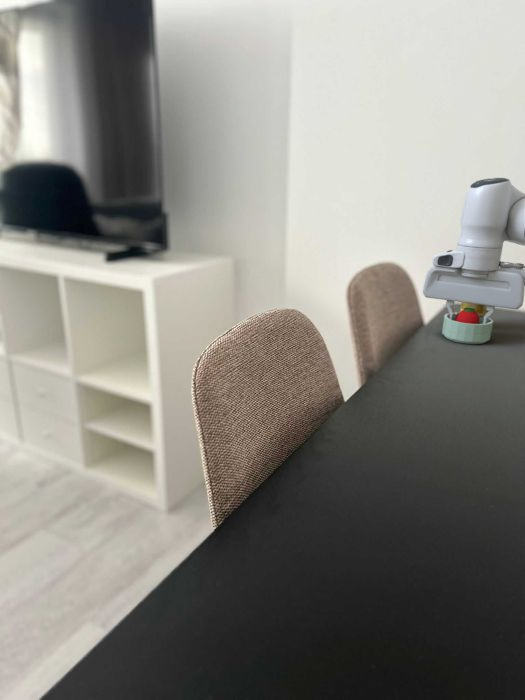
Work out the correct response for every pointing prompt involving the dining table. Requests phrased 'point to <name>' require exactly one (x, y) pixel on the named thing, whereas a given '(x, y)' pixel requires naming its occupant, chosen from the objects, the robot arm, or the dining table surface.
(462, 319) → the tomato
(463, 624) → the dining table surface
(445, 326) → the bowl
